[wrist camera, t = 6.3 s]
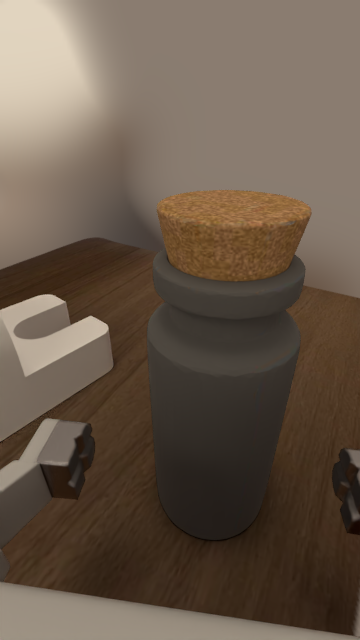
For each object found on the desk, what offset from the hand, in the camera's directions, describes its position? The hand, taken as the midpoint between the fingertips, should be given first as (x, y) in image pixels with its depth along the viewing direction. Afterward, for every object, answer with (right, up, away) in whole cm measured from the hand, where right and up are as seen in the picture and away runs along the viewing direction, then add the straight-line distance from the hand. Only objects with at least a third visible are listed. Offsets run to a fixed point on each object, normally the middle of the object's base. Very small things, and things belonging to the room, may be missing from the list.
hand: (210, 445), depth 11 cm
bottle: (+1, -5, +7) cm, 9 cm away
